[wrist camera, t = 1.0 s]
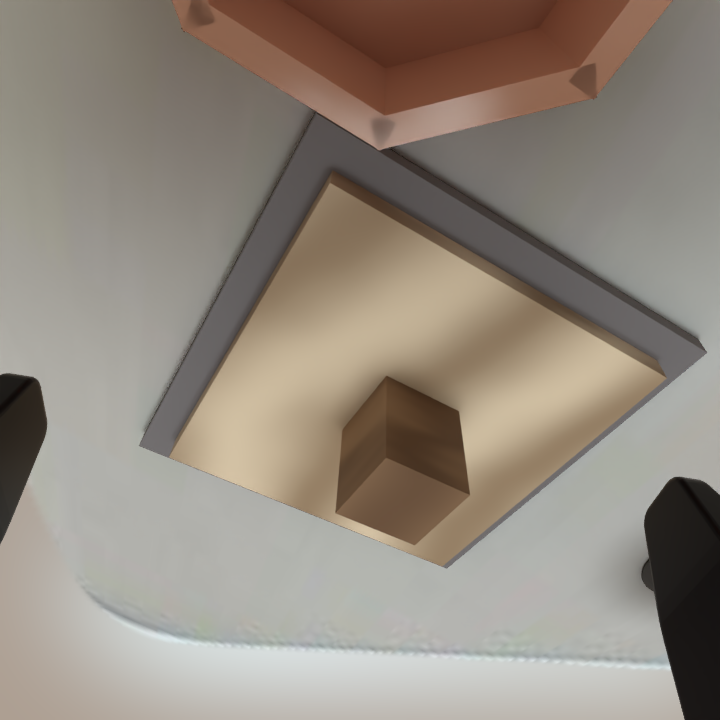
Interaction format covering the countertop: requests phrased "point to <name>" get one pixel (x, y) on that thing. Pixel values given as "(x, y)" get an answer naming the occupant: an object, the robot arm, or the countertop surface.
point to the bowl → (425, 56)
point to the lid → (404, 382)
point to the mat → (443, 214)
